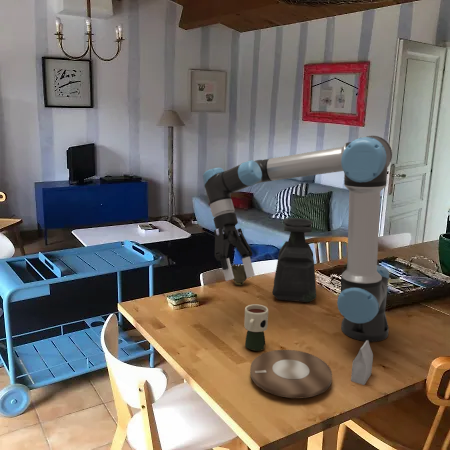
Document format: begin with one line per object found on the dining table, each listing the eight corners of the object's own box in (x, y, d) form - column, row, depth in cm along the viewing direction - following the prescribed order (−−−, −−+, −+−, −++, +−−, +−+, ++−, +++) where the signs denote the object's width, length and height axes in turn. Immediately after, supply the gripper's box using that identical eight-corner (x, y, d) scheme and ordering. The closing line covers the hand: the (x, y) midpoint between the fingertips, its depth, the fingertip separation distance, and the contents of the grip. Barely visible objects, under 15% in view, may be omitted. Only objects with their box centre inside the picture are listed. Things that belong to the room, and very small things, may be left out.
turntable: (313, 351, 146) (314, 346, 146) (345, 393, 125) (345, 387, 125) (242, 357, 142) (242, 352, 141) (262, 402, 121) (262, 396, 120)
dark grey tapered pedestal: (274, 285, 203) (277, 215, 195) (314, 288, 200) (319, 217, 193) (272, 302, 185) (275, 225, 178) (315, 305, 183) (321, 228, 176)
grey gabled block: (371, 373, 138) (374, 341, 135) (364, 385, 132) (367, 351, 130) (358, 370, 139) (361, 338, 137) (350, 381, 134) (353, 347, 131)
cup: (246, 288, 198) (247, 270, 196) (228, 287, 200) (229, 268, 198) (249, 282, 205) (250, 264, 203) (232, 280, 207) (232, 262, 205)
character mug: (260, 358, 145) (262, 317, 142) (238, 353, 147) (239, 313, 144) (271, 342, 155) (273, 304, 151) (250, 337, 157) (251, 300, 154)
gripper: (233, 219, 172) (249, 278, 168) (193, 217, 151) (210, 284, 147) (251, 212, 168) (268, 272, 165) (212, 209, 147) (230, 278, 143)
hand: (240, 278), depth 156 cm, fingers open, 13 cm apart
